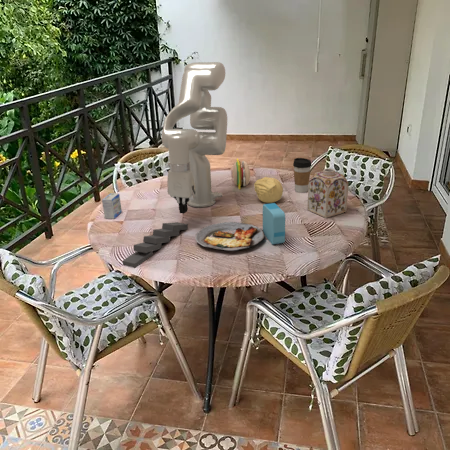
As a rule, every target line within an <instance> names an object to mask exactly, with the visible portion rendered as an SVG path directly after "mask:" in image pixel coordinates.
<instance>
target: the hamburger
mask: <svg viewBox="0 0 450 450" xmlns="http://www.w3.org/2000/svg"><path fill="white" fill-rule="evenodd" d="M232 176H233V177H232V178H233V182H234V185H235V186H236V187H238V190H241V187H242V186H243V187H246V186H248V185H249V183H250V180H251V169H250V166H249V164H248V163H247V161H245V160H242V161H239V158H236V161H235V162H234V164H233V168H232Z"/></svg>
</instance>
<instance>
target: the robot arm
mask: <svg viewBox="0 0 450 450" xmlns="http://www.w3.org/2000/svg"><path fill="white" fill-rule="evenodd" d="M183 69H184V70H183V74H182V77H181V82H180V83H181V84H180V91H179V98H178V103H176V105H175V106H174V107H173V108H171V110H170V111H169V112H168V114H167V115H166V117H165V118H164V120H163V127H162V134H161V142H162V145H163V146H164V147H165V149H166V148H167V150H168V157H169V162H168V163H167V167H169V170H168V172H167V194H168V195H169V196H170V198H173V199H175V201H176V203H177V204H178V210H179V214H182V215H183V214H186V213H187V212H188V206H190V207H193V208H207V207H210V206H213V205H215V203H216V199H217V198H222V197H223V192H218V191H215V192H213V191H212V173H211V163H210V160H209V159H208V158H207V156H221V155H223V154H225V152H226V149H227V148H226V147H227V135H228V113H227V111H226V109H225V108H224V107H222V106H221V107H220V106H212V95H211V93H210V91H217V90H218V89H219V88H220V86H221V85H222V84H223V83H224V81H225V78H226V68H225V66H224V64H223V63H222V62H219V61H215V62H214V61H213V62H209V61H208V62H205V61H204V62H190V63H188V64H186V65H185V66H184V68H183ZM187 116H189V124H190V126H191V128H174V127H175V125H176V124H177V123H178V122H179V121H180V120H182V119H183V118H186V117H187ZM198 130H199V131H198ZM200 130H201V131H200ZM203 130H204V131H203Z"/></svg>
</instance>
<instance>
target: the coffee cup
mask: <svg viewBox="0 0 450 450" xmlns="http://www.w3.org/2000/svg"><path fill="white" fill-rule="evenodd" d="M292 167H293V177H294V178H293V179H294V191H295V193H299V194H302V193H308V186H309V180H310V178H311V168H312V161H311V159H308V158H304V157H296V158H294V160H293V164H292Z"/></svg>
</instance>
